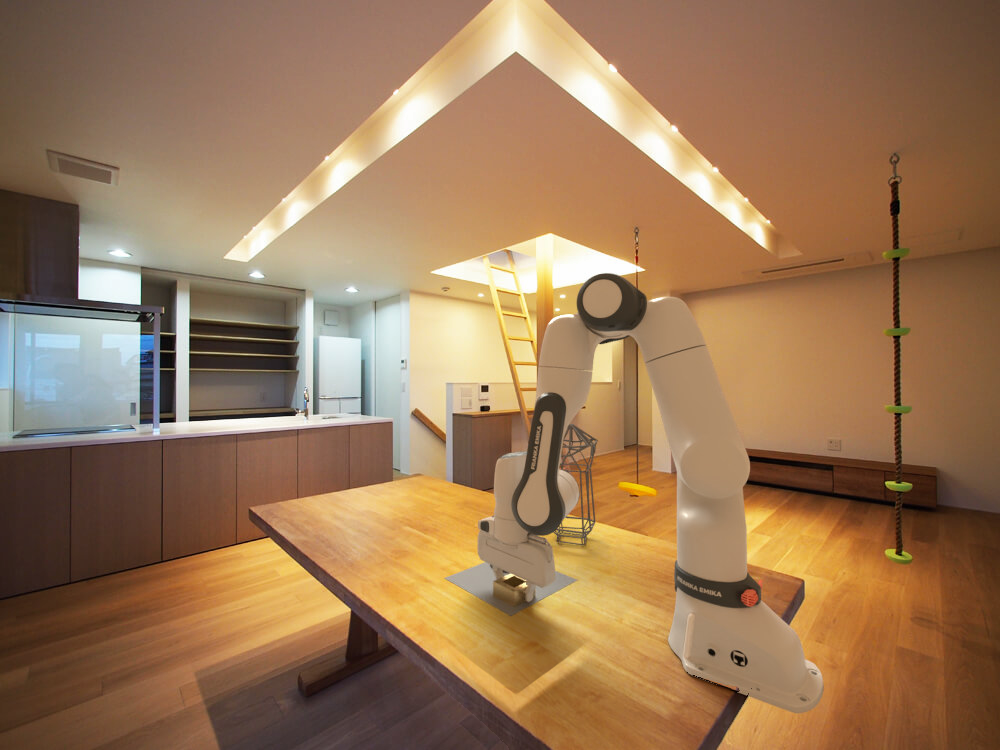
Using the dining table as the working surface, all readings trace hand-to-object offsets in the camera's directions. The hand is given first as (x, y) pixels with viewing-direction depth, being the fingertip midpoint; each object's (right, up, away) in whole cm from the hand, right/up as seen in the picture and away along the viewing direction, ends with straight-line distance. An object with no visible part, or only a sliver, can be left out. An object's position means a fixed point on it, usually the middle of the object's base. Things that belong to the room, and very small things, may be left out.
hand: (514, 592), depth 88 cm
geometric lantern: (+19, -4, +37) cm, 42 cm away
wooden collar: (0, -1, 0) cm, 1 cm away
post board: (0, -2, +8) cm, 8 cm away
